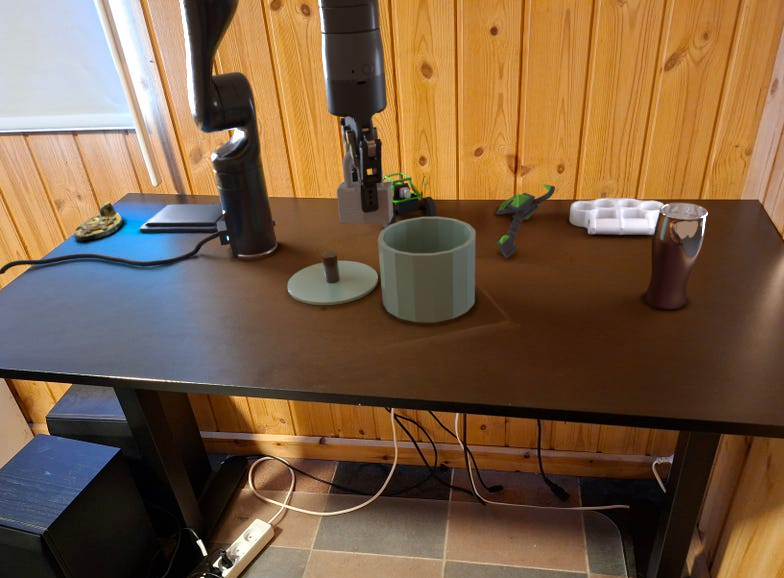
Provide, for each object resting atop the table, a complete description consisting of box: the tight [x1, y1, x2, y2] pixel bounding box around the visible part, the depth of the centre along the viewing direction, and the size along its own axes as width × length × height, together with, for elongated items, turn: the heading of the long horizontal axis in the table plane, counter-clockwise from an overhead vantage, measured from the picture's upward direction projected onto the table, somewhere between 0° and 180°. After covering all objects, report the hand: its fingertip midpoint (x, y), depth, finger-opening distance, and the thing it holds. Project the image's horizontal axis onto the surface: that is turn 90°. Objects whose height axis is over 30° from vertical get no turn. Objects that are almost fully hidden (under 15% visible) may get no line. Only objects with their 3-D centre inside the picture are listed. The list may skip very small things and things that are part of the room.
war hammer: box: [495, 184, 556, 259], centre depth 127 cm, size 6×13×30 cm
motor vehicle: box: [381, 172, 438, 229], centre depth 136 cm, size 12×19×11 cm, turn 23°
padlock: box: [336, 151, 393, 226], centre depth 85 cm, size 7×4×10 cm, turn 80°
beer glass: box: [644, 202, 709, 311], centre depth 97 cm, size 7×7×15 cm
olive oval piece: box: [74, 201, 124, 241], centre depth 144 cm, size 9×5×15 cm
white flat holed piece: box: [569, 197, 665, 236], centre depth 126 cm, size 3×18×15 cm
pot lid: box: [287, 251, 379, 306], centre depth 111 cm, size 16×16×6 cm
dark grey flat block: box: [139, 203, 224, 233], centre depth 146 cm, size 20×2×15 cm
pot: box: [377, 216, 476, 323], centre depth 103 cm, size 15×15×12 cm
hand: (365, 203), depth 87 cm, fingers closed on padlock, 4 cm apart
